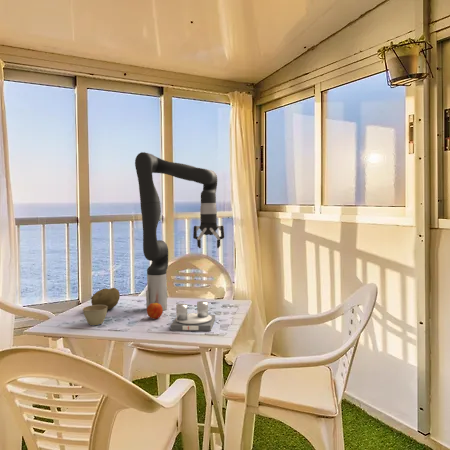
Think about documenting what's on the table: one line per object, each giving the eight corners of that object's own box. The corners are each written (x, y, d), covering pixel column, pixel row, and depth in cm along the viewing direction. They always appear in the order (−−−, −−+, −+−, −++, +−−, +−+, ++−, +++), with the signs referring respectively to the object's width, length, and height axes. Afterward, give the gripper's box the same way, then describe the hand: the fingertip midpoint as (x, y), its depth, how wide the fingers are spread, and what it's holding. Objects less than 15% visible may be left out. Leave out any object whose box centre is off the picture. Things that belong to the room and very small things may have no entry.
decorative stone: (106, 315, 189) (105, 293, 189) (85, 313, 192) (84, 292, 192) (125, 306, 205) (124, 286, 205) (105, 305, 208) (104, 285, 208)
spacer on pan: (175, 320, 167) (175, 306, 167) (177, 317, 172) (177, 303, 172) (186, 320, 167) (186, 306, 167) (188, 317, 171) (188, 303, 171)
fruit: (149, 321, 178) (148, 303, 177) (145, 317, 184) (144, 300, 184) (164, 319, 181) (164, 301, 180) (160, 315, 187) (160, 298, 187)
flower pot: (82, 322, 177) (81, 306, 177) (106, 319, 181) (105, 303, 181) (84, 328, 168) (83, 311, 168) (109, 325, 172) (109, 308, 171)
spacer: (196, 317, 172) (196, 303, 171) (198, 314, 176) (198, 301, 176) (207, 317, 171) (207, 303, 171) (208, 314, 176) (208, 301, 175)
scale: (170, 330, 164) (170, 323, 164) (178, 319, 180) (178, 312, 180) (210, 331, 162) (210, 324, 162) (215, 319, 179) (215, 313, 179)
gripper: (191, 213, 187) (192, 248, 188) (223, 213, 186) (223, 248, 186) (194, 213, 194) (195, 247, 195) (224, 212, 193) (224, 247, 194)
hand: (208, 248), depth 191 cm, fingers open, 8 cm apart
